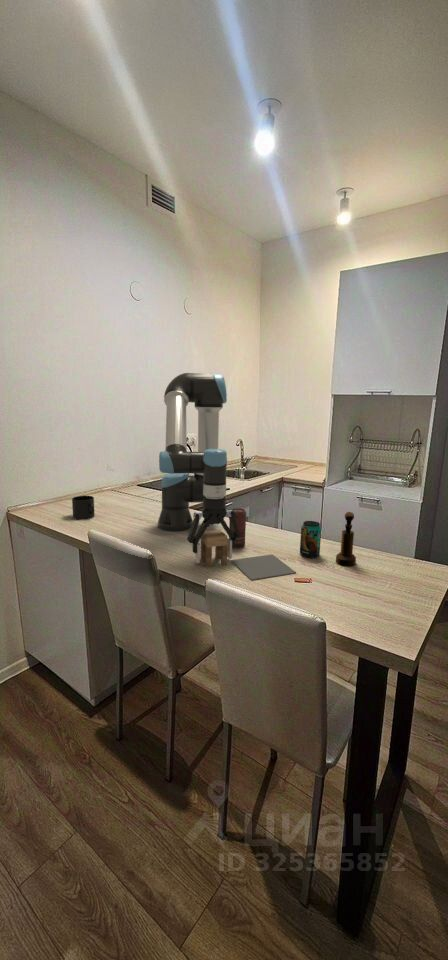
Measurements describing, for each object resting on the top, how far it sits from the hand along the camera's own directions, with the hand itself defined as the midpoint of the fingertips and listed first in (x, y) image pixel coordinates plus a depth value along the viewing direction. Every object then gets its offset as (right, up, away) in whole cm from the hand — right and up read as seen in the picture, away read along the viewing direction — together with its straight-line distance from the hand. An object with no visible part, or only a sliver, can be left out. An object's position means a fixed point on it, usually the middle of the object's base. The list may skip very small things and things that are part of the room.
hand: (213, 559), depth 134 cm
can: (+9, +2, +16) cm, 18 cm away
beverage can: (+34, 0, +8) cm, 35 cm away
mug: (-60, +9, +48) cm, 78 cm away
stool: (0, -1, 0) cm, 1 cm away
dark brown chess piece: (+45, -2, +2) cm, 46 cm away
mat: (+16, -2, -3) cm, 17 cm away
